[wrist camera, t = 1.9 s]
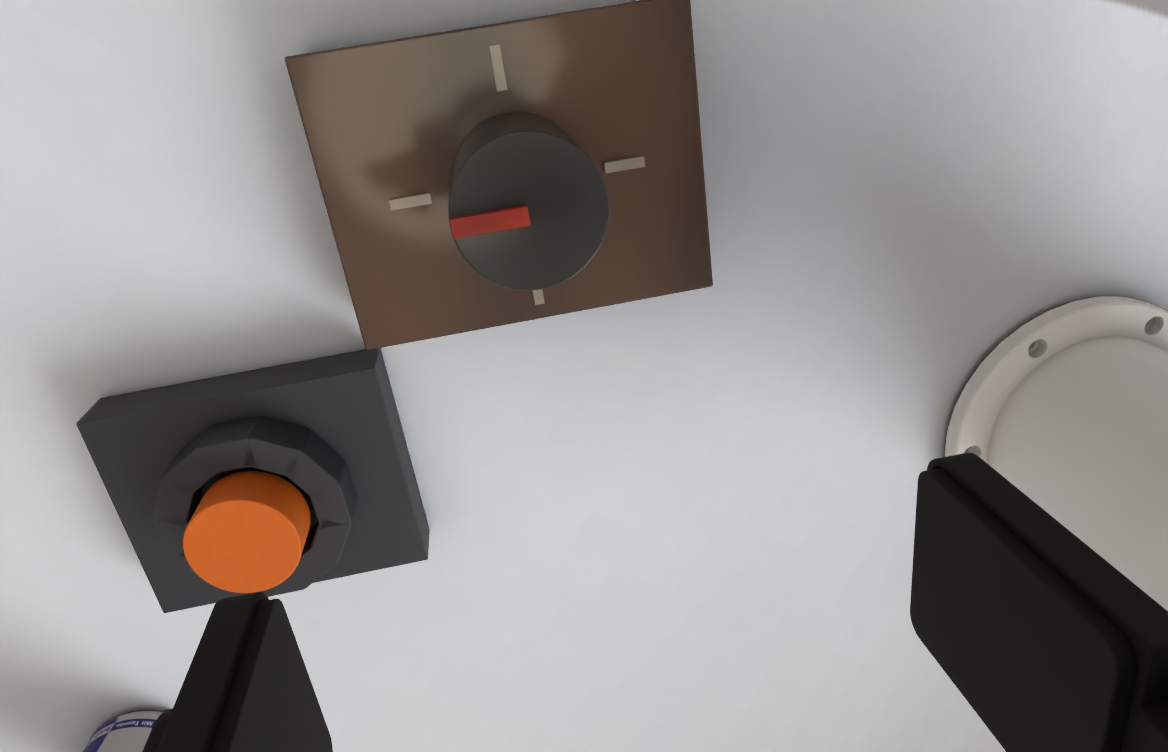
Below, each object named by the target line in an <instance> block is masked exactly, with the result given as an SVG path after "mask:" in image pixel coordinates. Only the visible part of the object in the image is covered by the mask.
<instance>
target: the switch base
mask: <svg viewBox="0 0 1168 752" xmlns="http://www.w3.org/2000/svg"><path fill="white" fill-rule="evenodd" d="M77 426H78V429H79V431H80V433H81V435H82V437H83V439H84V441H85V444H86V446H87V448H88V450H89V452H90V454H91V457H92V459H93V461H94V463H95V465H96V467H97V470H98V472H99V474H100V476H101V478H102V480H103V483H104V485H105V487H106V489H107V491H108V493H109V496H110V498H111V500H112V502H113V504H114V506H115V509H116V511H117V513H118V515H119V517H120V519H121V521H122V524H123V526H124V528H125V530H126V532H127V534H128V537H129V539H130V541H131V543H132V545H133V547H134V550H135V552H136V554H137V556H138V558H139V560H140V563H141V565H142V567H143V569H144V571H145V573H146V576H147V578H148V580H149V582H150V584H151V586H152V588H153V591H154V593H155V595H156V597H157V599H158V601H159V604H160V606H161V608H162V610H163V612H164V613H168V612H172V611H177V610H182V609H187V608H192V607H197V606H202V605H207V604H212V603H216V602H217V601H218V600H220V599H223V598H228V597H233V596H238V595H244V594H249V593H236V592H230V591H226V590H223V589H220V588H217V587H215V586H213V585H211V584H209V583H208V582H206V581H204V580H203V579H202V578H201V577H199V576H198V575H197V574H196V573H195V572H194V571H193V569H192V568H191V567H190V565H189V563H188V561H187V560H186V557H185V554H184V549H183V537H184V532H185V529H186V527H187V525H188V523H189V521H190V520H191V518H192V516H193V514H194V512H195V511H196V509H197V507H198V505H199V503H200V501H201V500H202V498H203V496H204V494H205V493H206V491H207V490H208V489H209V488H210V487H211V486H212V485H213V484H214V483H215V482H217V481H218V480H220V479H221V478H223V477H225V476H228V475H230V474H234V473H237V472H243V471H260V472H266V473H270V474H273V475H276V476H279V477H281V478H283V479H285V480H286V481H288V482H290V483H291V484H292V485H294V486H295V487H296V488H297V489H298V490H299V491H300V493H301V494H302V495H303V497H304V498H305V500H306V502H307V504H308V506H309V510H310V516H311V522H310V528H309V532H308V535H307V538H306V542H305V545H304V548H303V552H302V555H301V558H300V561H299V564H298V566H297V567H296V569H295V571H294V572H293V573H292V574H291V576H289V577H288V578H287V579H286V580H285V581H283V582H282V583H281V584H279V585H277V586H275V587H273V588H270V589H268V590H264V591H261V592H264V593H265V594H266V596H267V597H269V596H273V595H278V594H283V593H288V592H293V591H298V590H303V589H304V588H306V587H308V586H309V585H310V584H312V583H314V582H319V581H324V580H329V579H334V578H339V577H344V576H349V575H353V574H358V573H363V572H368V571H373V570H378V569H383V568H388V567H393V566H398V565H402V564H407V563H412V562H417V561H422V560H427V559H428V546H429V526H428V522H427V519H426V515H425V511H424V508H423V504H422V500H421V497H420V493H419V489H418V485H417V482H416V478H415V474H414V471H413V467H412V463H411V460H410V456H409V452H408V449H407V445H406V441H405V437H404V434H403V430H402V426H401V423H400V419H399V415H398V412H397V408H396V404H395V401H394V397H393V393H392V389H391V386H390V382H389V378H388V375H387V371H386V367H385V364H384V360H383V356H382V352H381V349H380V348H376V349H370V350H360V351H355V352H349V353H344V354H339V355H333V356H328V357H322V358H317V359H312V360H306V361H301V362H295V363H290V364H285V365H279V366H274V367H268V368H263V369H257V370H252V371H247V372H241V373H236V374H230V375H225V376H220V377H214V378H209V379H203V380H198V381H193V382H187V383H182V384H176V385H171V386H166V387H160V388H155V389H149V390H144V391H139V392H133V393H128V394H122V395H117V396H111V397H106V398H101V399H99V400H98V401H97V403H96V404H95V405H94V406H93V407H92V408H91V409H90V410H89V411H88V412H87V413H86V414H85V415H84V416H83V417H82V418H81V419H80V420H79V421H78V422H77Z"/></svg>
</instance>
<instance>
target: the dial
mask: <svg viewBox="0 0 1168 752" xmlns="http://www.w3.org/2000/svg"><path fill="white" fill-rule="evenodd" d="M448 217H449V224H450V229H451V232H452V236H453V239H454V241H455V243H456V246H457V248H458V249H459V251H460V253H461V254H462V256H463V257H464V258H465V260H466V261H467V262H468V263H469V265H470V266H471V267H473V268H474V269H475V270H476V271H477V272H478V273H479V274H481V275H482V276H483V277H485V278H487V279H488V280H490V281H492V282H494V283H496V284H499V285H501V286H504V287H507V288H511V289H517V290H540V289H546V288H550V287H553V286H556V285H559V284H561V283H563V282H565V281H567V280H569V279H571V278H572V277H574V276H575V275H577V274H578V273H579V272H580V271H582V270H583V269H584V268H585V267H586V266H587V265H588V264H589V262H590V261H591V260H592V259H593V258H594V256H595V255H596V253H597V252H598V250H599V248H600V246H601V244H602V242H603V240H604V237H605V234H606V231H607V226H608V221H609V198H608V193H607V189H606V186H605V183H604V180H603V177H602V175H601V173H600V171H599V169H598V168H597V166H596V165H595V163H594V162H593V160H592V159H591V158H590V157H589V156H588V155H587V154H586V153H585V152H584V151H583V150H582V149H581V148H580V147H579V146H578V145H577V144H576V143H575V142H574V141H573V140H572V139H571V138H570V137H569V136H568V135H567V134H566V133H565V132H564V131H563V130H562V129H561V128H560V127H559V126H557V125H556V124H554V123H553V122H551V121H549V120H547V119H545V118H543V117H540V116H537V115H534V114H529V113H520V112H514V113H505V114H501V115H497V116H494V117H492V118H489V119H487V120H486V121H484V122H482V123H480V124H479V125H478V126H476V127H475V128H474V129H473V130H472V131H471V132H470V133H469V134H468V135H467V136H466V137H465V138H464V140H463V141H462V142H461V144H460V146H459V148H458V149H457V151H456V154H455V156H454V159H453V163H452V167H451V174H450V188H449V202H448Z"/></svg>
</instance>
